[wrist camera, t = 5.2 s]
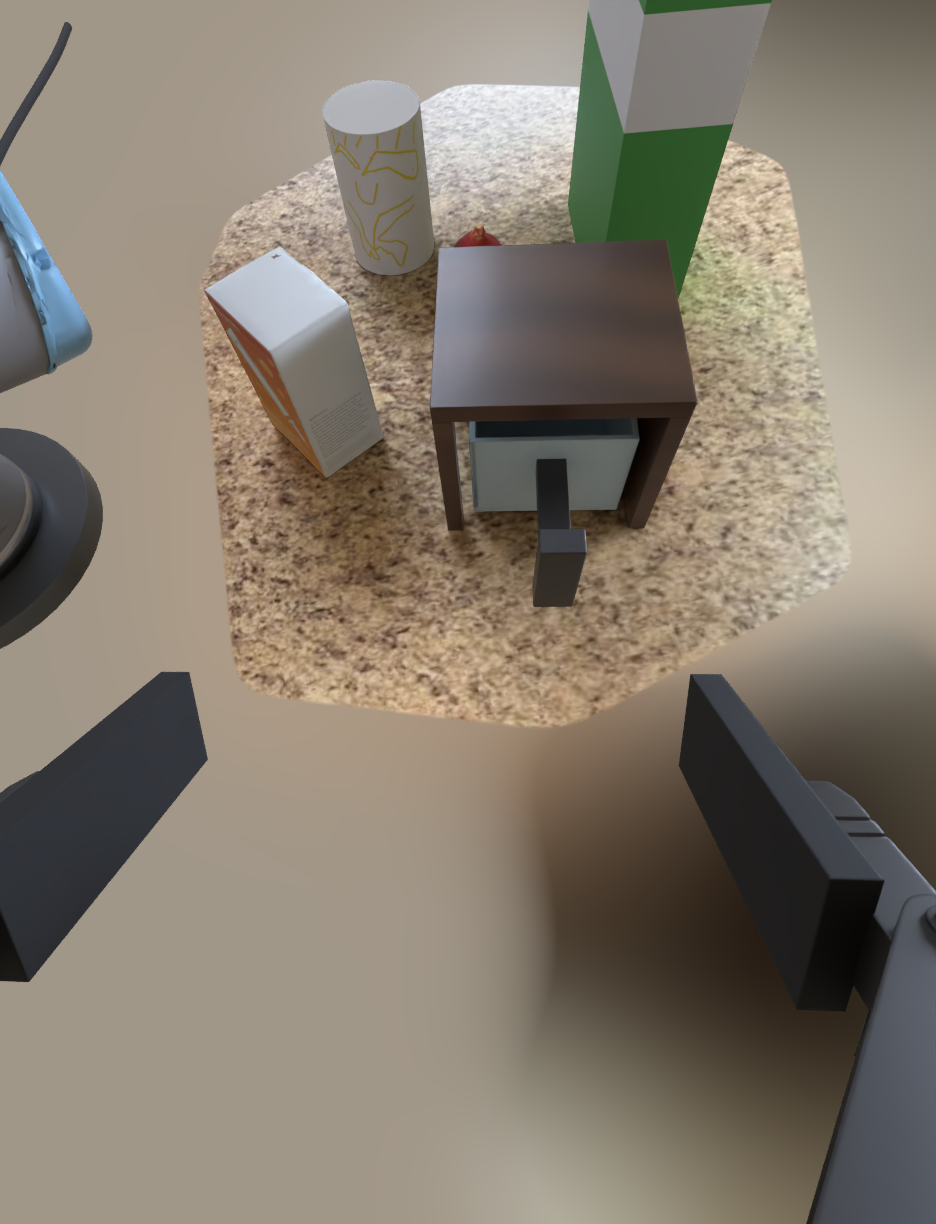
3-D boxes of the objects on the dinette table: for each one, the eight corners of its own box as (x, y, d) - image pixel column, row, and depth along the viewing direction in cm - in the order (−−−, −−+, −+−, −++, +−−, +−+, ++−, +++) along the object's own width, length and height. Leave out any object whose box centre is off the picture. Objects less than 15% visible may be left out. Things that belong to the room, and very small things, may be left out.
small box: (271, 426, 50) (200, 287, 38) (330, 387, 51) (279, 242, 40) (326, 481, 47) (267, 351, 35) (386, 438, 49) (350, 299, 37)
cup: (350, 276, 57) (316, 136, 46) (359, 224, 61) (329, 82, 50) (431, 274, 57) (416, 132, 46) (436, 222, 60) (422, 78, 49)
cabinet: (644, 528, 44) (697, 401, 32) (448, 530, 45) (429, 408, 33) (626, 389, 50) (666, 239, 38) (452, 394, 50) (439, 247, 39)
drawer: (628, 620, 41) (663, 552, 32) (472, 621, 41) (465, 554, 32) (605, 400, 49) (628, 298, 40) (475, 404, 49) (470, 303, 41)
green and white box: (568, 204, 60) (606, -174, 39) (638, 198, 60) (718, -185, 38) (591, 323, 53) (656, -61, 31) (672, 316, 53) (794, -74, 31)
